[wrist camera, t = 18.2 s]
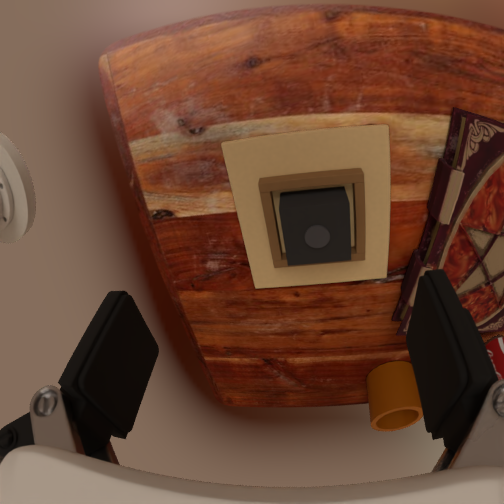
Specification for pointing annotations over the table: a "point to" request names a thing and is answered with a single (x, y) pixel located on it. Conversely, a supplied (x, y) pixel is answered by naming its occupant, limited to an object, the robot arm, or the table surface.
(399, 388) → the mug
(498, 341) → the soda can
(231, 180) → the base pad
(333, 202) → the black square block
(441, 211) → the book
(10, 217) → the robot arm
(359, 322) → the table surface
